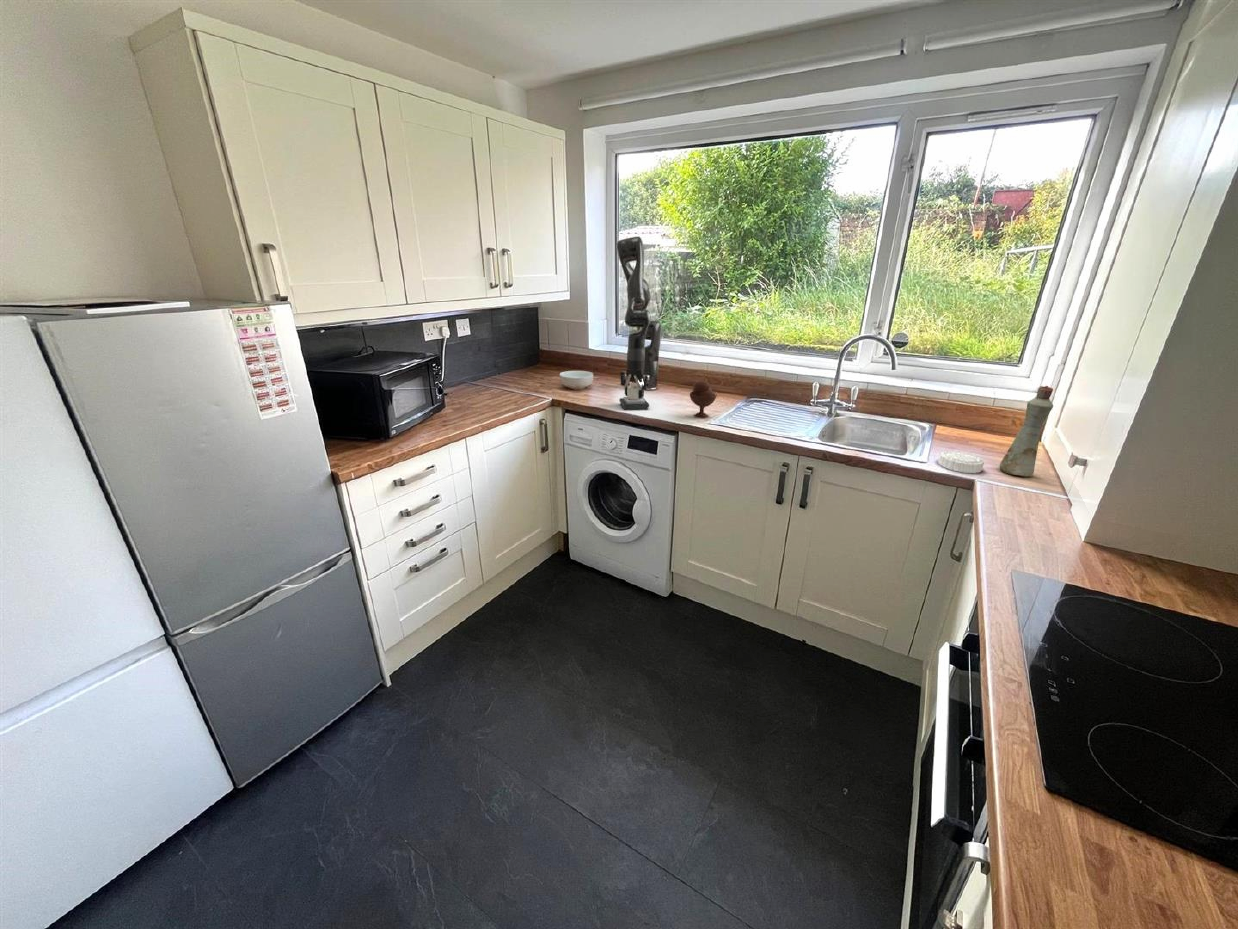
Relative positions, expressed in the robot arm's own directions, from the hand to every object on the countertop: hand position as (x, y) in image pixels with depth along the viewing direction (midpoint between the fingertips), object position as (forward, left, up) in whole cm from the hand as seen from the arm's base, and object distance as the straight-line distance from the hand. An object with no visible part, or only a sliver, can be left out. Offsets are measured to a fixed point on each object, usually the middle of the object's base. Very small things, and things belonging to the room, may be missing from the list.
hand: (634, 396), depth 216 cm
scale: (0, 0, -4) cm, 4 cm away
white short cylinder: (0, 0, -1) cm, 1 cm away
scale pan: (0, 0, -2) cm, 2 cm away
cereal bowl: (-38, -21, -5) cm, 44 cm away
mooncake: (+81, +90, -5) cm, 121 cm away
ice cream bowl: (+17, +25, -5) cm, 31 cm away
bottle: (+88, +104, -5) cm, 136 cm away
